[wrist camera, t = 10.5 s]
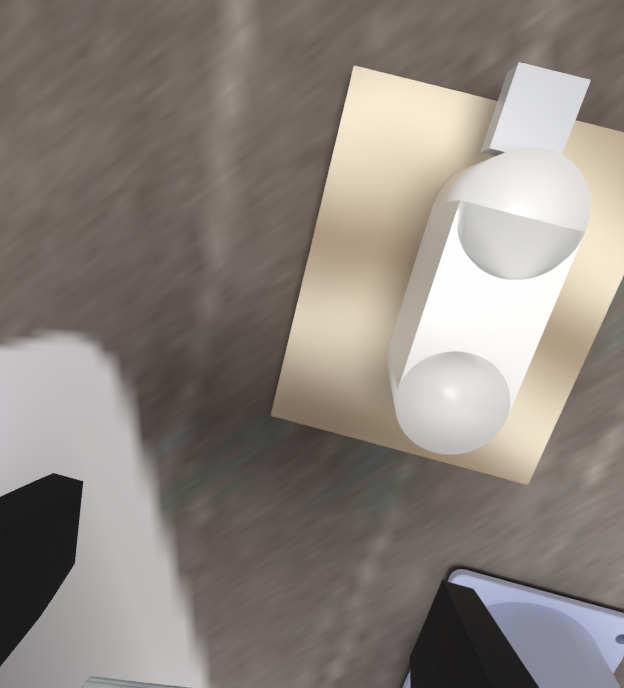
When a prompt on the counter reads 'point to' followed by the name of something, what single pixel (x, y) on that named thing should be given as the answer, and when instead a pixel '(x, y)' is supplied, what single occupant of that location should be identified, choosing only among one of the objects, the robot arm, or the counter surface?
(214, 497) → the counter surface
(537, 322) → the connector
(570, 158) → the birch board
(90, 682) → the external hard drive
